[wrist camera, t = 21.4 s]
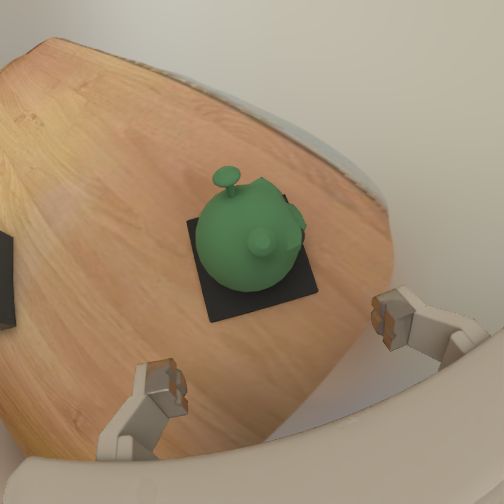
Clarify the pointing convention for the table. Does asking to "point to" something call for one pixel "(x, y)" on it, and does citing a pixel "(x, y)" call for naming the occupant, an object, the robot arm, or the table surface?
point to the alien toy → (248, 233)
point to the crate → (6, 282)
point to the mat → (237, 302)
